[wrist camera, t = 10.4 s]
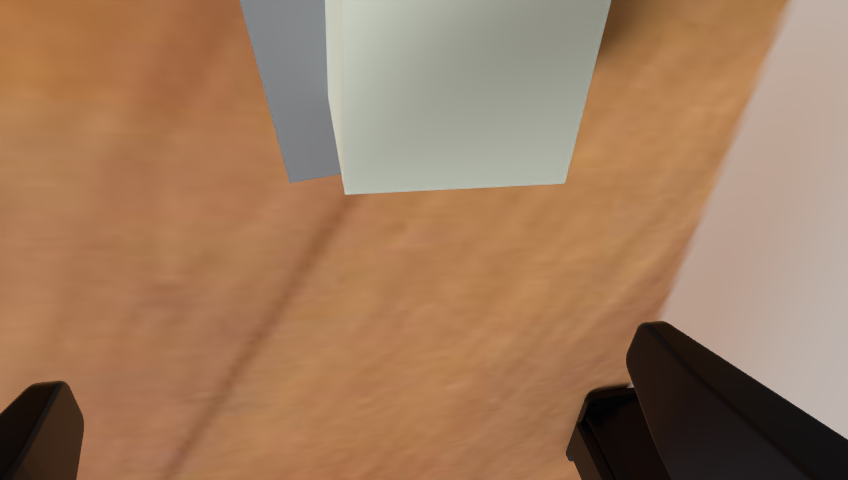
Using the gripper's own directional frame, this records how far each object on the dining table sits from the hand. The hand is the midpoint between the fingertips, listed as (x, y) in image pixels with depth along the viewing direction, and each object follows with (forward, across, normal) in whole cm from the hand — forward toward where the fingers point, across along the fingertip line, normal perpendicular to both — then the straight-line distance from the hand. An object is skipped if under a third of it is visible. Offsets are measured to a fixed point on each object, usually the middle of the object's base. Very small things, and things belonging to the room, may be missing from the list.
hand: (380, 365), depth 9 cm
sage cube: (+9, -2, -3) cm, 10 cm away
